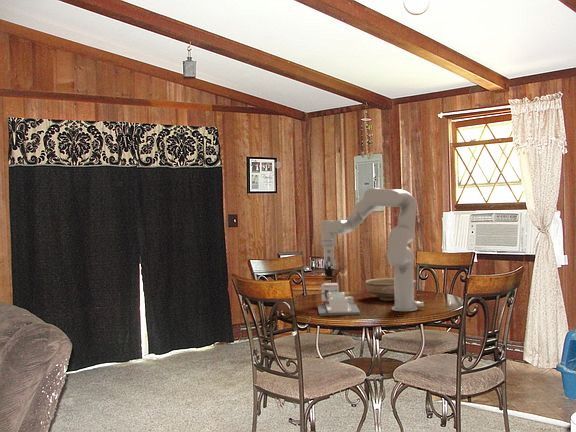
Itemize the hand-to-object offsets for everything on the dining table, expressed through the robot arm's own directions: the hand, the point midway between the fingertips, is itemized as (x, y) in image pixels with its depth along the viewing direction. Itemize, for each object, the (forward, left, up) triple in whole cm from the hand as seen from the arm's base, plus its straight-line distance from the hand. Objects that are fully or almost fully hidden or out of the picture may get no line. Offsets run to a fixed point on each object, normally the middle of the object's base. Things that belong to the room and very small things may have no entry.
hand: (328, 275), depth 340 cm
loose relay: (-10, -3, -16) cm, 19 cm away
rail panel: (-3, +18, -16) cm, 25 cm away
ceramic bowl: (-35, -20, -16) cm, 44 cm away
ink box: (0, 0, -16) cm, 16 cm away
